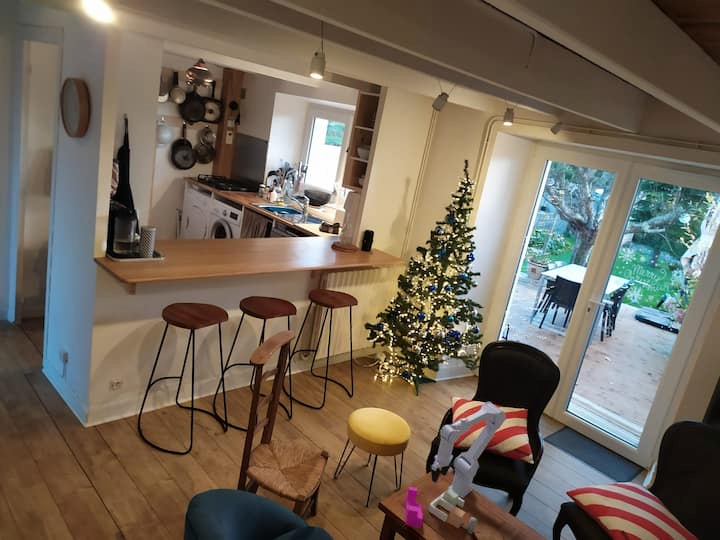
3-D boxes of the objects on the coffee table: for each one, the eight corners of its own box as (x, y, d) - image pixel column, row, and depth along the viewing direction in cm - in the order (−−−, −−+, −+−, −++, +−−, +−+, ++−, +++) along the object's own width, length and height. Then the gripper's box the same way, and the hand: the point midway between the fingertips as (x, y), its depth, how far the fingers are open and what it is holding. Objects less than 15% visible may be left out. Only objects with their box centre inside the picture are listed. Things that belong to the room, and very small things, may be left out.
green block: (446, 499, 238) (449, 488, 237) (455, 505, 235) (458, 495, 234) (441, 503, 235) (444, 492, 234) (451, 509, 232) (454, 498, 231)
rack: (445, 495, 240) (447, 489, 240) (463, 506, 235) (464, 500, 234) (427, 510, 229) (428, 504, 228) (445, 522, 223) (446, 516, 223)
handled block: (452, 517, 227) (455, 505, 226) (475, 530, 222) (478, 518, 220) (447, 522, 223) (450, 510, 222) (471, 536, 218) (474, 523, 216)
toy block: (420, 528, 217) (424, 512, 216) (405, 525, 218) (409, 509, 216) (419, 504, 232) (423, 489, 230) (405, 501, 232) (408, 486, 230)
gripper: (445, 441, 240) (439, 467, 244) (428, 452, 229) (422, 479, 232) (459, 449, 236) (452, 475, 239) (442, 460, 225) (435, 488, 228)
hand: (438, 478), depth 236 cm, fingers open, 7 cm apart
